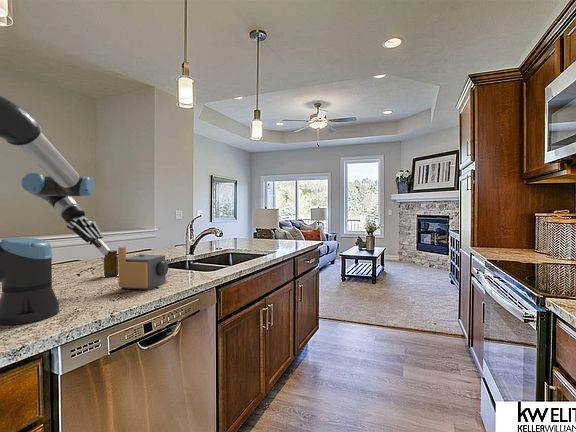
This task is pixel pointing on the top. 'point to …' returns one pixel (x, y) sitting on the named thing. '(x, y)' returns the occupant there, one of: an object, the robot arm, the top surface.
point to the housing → (152, 269)
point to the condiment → (111, 264)
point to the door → (132, 272)
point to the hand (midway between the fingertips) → (107, 252)
